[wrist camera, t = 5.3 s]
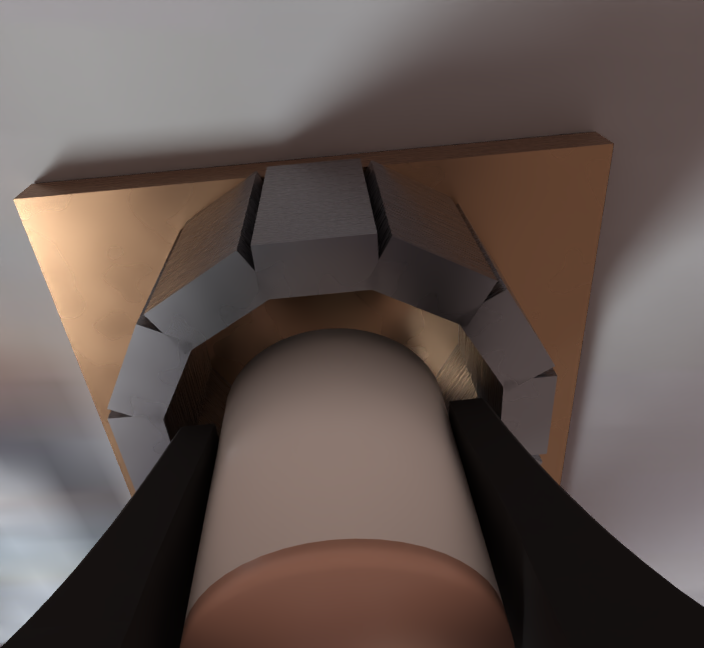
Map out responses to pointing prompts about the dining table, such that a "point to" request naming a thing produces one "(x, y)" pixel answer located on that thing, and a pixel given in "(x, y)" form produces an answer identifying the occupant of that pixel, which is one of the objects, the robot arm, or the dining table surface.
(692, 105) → the dining table surface
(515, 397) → the peg hole base
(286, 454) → the cylindrical peg
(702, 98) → the dining table surface
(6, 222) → the dining table surface
